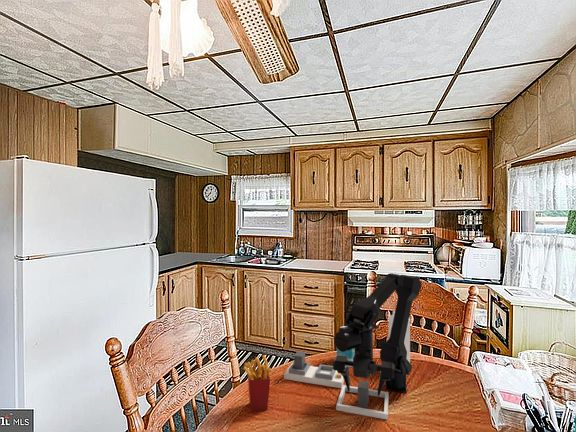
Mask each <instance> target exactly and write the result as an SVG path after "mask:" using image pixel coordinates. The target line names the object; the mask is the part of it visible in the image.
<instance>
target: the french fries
mask: <svg viewBox="0 0 576 432" xmlns="http://www.w3.org/2000/svg"><path fill="white" fill-rule="evenodd" d="M261 356H262V360H263V362H264V363H261V361H260V359H259V358H258V357H256V356H255V358H254V359H251V361H247V362H245V363H244V364H243V365H244V367H243V370H244V371H245V372H246V373H247V381H248V382H247V384H248V396H249V406H250V412H251V413H255V412H263V411H268V405H269V398H270V397H269V396H270V386H271V385H270V384H271V377H270V375H269V373H270V371H271V369H272V368H271V367H268V360H267V357H266V355H265V354H263V355H261ZM256 368H257V369H256Z"/></svg>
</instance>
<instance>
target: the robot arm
mask: <svg viewBox="0 0 576 432" xmlns="http://www.w3.org/2000/svg"><path fill="white" fill-rule="evenodd" d="M422 287H423V286H422V281H421V280H420V278H419V277H418V276H413V275H407V274H398V273H392V272H390V273H388V274H386V277H385V278H384V279H383V280H382V281H381V283H379V285H378V286H377V287H376V288H375V289H374V290H373V291H372V292H371V293H370V294H369V295H368V296H367V297H364V298H361V299H359V300H358V301H356V302H355V303H354V304H353V305H352V307H351V310H350V312H349V313H348V316H347V317H346V320H345V322H344V326H347V327H343V326H340V327H341V328H340V327H339V328H338V329H339V330H338V331H337V333H335V335H334V338H333V340H334V344H335V347H336V350H337V349H338V350H340V351H341V352H345V351H348V350H351V349H354V358H353V361H348V357H347V356H340V355H337V354H336V355H335V357H334V360H333V362H332V366H333V369H334V370H337V372H338V373H340V374H341V375H342V376H343V378H344V383H345V385H346V386H347V389H348V391H350V386H351V379H350V368H352V374H353V376H354V377H355V378H364V379H369V378H370V377H371V375H373V374H374V375H377V372H380V373H379V380H378V387H377V391H378V396H379V395H380V392H381V391H382V389H383V386H384V385H385V386H386V390H388V391H393V392H399V393H405V394H406V393H408V392H407V391H408V390H407V375H410V373H411V372H412V369H413V367H412V366H413V365H412V364H411V362H410V363H409V361H408V360H407V359H406V358H407V351H406V348H405V344H404V340H405V335H406V330H407V325H408V320H409V319H410V314H411V309H412V304H413V302H414V300H416V299H417V298H418V296H419V295H420V291H421V289H422ZM394 292H395V293H396V297H397V300H396V305H395V309H394V310H395V314H394V319H393V324H392V328H391V333H390V337H389V336H388V339H387V340H386V341H383V342H382V343H381V348H380V350H379V359H380V361H381V363H380V364H377V361H376V360H374V354H373V353H374V350H373V349H374V343H373V342H374V341H373V338H374V336H373V335H374V330H375V329H378V326H377V324H375V322H376V320H377V319H378V317H379V316H380V310H381V307H382V306H383V305H384V304H385V302H386V301H388V299H389V298H390V297H391V296H392V295H393V293H394Z"/></svg>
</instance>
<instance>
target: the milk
mask: <svg viewBox="0 0 576 432" xmlns="http://www.w3.org/2000/svg"><path fill="white" fill-rule="evenodd" d="M395 310H396V309H394V310H392V314H391V315H389V316H388V338H389V337H390V333H391V328H392V324H393V319H394V314H395ZM404 344H405V348H406V351H407V358H406V359H407V360H408V361H409V363H410V364H411V319H410V318H409V320H408V325H407V330H406V335H405V340H404Z"/></svg>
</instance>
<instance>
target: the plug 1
mask: <svg viewBox="0 0 576 432" xmlns="http://www.w3.org/2000/svg"><path fill="white" fill-rule="evenodd" d="M293 362H294V369H299V370H304V368H305V362H306V352H305V351H302V350H301V351H300V350H297V351H296V353H295V354H294V355H293Z"/></svg>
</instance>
